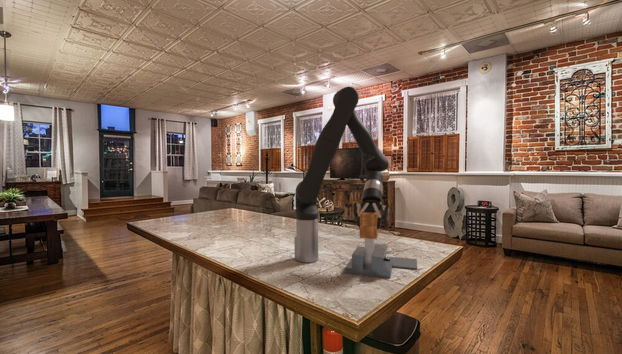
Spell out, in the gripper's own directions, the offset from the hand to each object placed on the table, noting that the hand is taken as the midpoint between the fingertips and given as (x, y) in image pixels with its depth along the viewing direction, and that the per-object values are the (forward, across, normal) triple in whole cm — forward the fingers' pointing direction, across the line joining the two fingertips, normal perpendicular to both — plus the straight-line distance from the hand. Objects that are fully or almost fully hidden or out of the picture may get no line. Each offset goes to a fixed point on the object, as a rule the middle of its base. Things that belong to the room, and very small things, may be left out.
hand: (368, 227), depth 107 cm
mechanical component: (-9, +2, +32) cm, 34 cm away
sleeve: (+1, 0, +4) cm, 4 cm away
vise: (+10, 0, +13) cm, 16 cm away
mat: (+2, +11, +21) cm, 24 cm away
